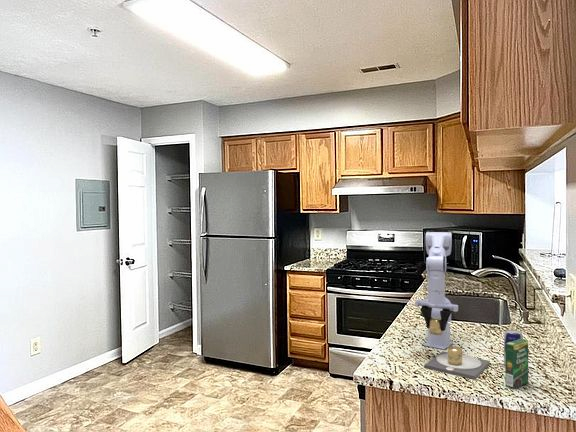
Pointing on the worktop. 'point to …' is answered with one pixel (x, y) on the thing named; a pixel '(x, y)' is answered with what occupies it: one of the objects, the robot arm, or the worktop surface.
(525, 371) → the green carton
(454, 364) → the golden domed cylinder
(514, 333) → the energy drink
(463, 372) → the kitchen scale
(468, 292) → the worktop surface
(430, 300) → the robot arm
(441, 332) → the tan rounded cylinder
